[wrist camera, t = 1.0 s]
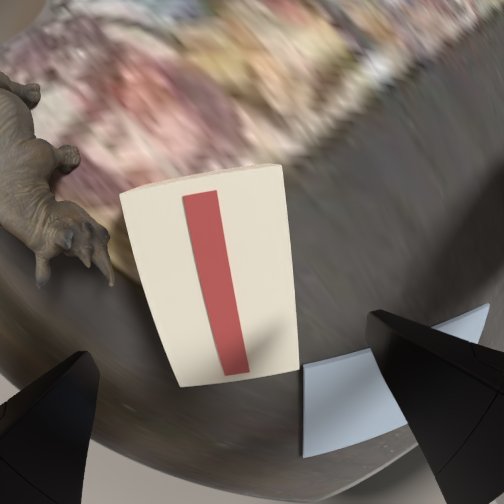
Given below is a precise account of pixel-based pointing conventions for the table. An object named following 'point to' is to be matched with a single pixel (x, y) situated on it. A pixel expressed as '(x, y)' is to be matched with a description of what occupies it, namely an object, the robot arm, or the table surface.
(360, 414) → the mat
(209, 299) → the card box
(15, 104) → the rhino figurine
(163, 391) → the table surface
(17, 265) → the table surface
